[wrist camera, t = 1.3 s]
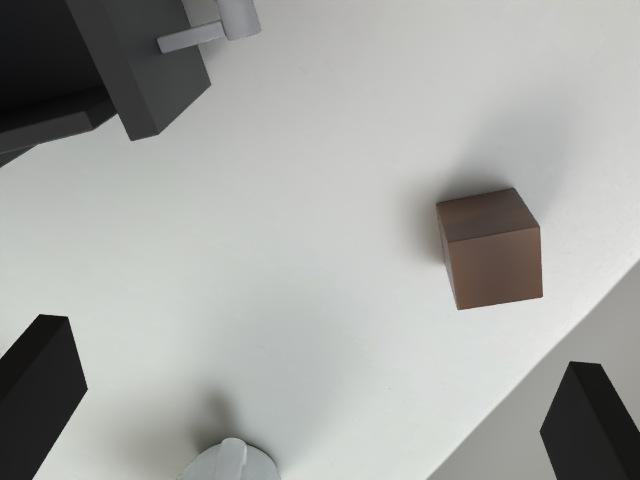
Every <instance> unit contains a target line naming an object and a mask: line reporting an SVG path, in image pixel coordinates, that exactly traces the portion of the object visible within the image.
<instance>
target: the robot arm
mask: <svg viewBox="0 0 640 480" xmlns="http://www.w3.org/2000/svg"><path fill="white" fill-rule="evenodd" d="M87 390H88V388H87V384H86V381H85V377H84V373H83V370H82V366H81V362H80V359H79V355H78V352H77V348H76V344H75V341H74V337H73V334H72V330H71V326H70V323H69V319H68V317H66V316H54V315H43V314H39V315H38V317H37V318H36V319H35V320H34V321H33V322H32V323H31V325H30V326H29V327H28V328H27V329H26V330H25V331H24V333H23V334H22V335H21V336H20V337H19V338H18V339H17V341H16V342H15V343H14V344H13V345H12V346H11V347H10V349H9V350H8V351H7V352H6V353H5V354H4V355H3V357H2V358H1V359H0V480H32V479H33V477H34V476H35V474H36V473H37V471H38V469H39V468H40V466H41V464H42V463H43V461H44V460H45V458H46V456H47V455H48V453H49V451H50V450H51V448H52V447H53V445H54V443H55V442H56V440H57V439H58V437H59V435H60V434H61V432H62V430H63V429H64V427H65V426H66V424H67V422H68V421H69V419H70V417H71V416H72V414H73V413H74V411H75V409H76V408H77V406H78V404H79V403H80V401H81V400H82V398H83V396H84V395H85V393H86V392H87ZM540 434H541V437H542V440H543V442H544V445H545V448H546V450H547V453H548V456H549V459H550V462H551V464H552V467H553V470H554V472H555V475H556V478H557V480H640V432H639V430H638V429H637V427H636V425H635V423H634V422H633V420H632V418H631V416H630V415H629V413H628V411H627V410H626V408H625V406H624V405H623V402H622V401H621V399H620V397H619V396H618V394H617V392H616V391H615V388H614V387H613V385H612V383H611V381H610V380H609V378H608V376H607V375H606V373H605V371H604V369H603V367H602V366H601V364H596V363H584V362H573V361H570V362H569V365H568V367H567V369H566V372H565V374H564V376H563V379H562V381H561V383H560V385H559V388H558V390H557V392H556V395H555V397H554V399H553V402H552V404H551V406H550V409H549V411H548V413H547V416H546V418H545V420H544V423H543V425H542V427H541V429H540Z"/></svg>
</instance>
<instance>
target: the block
mask: <svg viewBox="0 0 640 480" xmlns="http://www.w3.org/2000/svg"><path fill="white" fill-rule="evenodd" d="M436 210H437V216H438V222H439V229H440V235H441V242H442V248H443V254H444V261H445V266H446V270H447V274H448V277H449V281H450V284H451V288H452V292H453V295H454V299H455V303H456V306H457V309H458V310H463V309H470V308H476V307H483V306H489V305H496V304H502V303H509V302H515V301H522V300H528V299H535V298H541V297H543V289H542V265H541V240H540V226H539V224H538V223H537V221H536V220H535V218H534V217H533V215H532V214H531V212H530V211H529V209H528V207H527V206H526V204H525V203H524V201H523V200H522V198H521V197H520V195H519V194H518V192H517V191H516V189H515V188H513V189H508V190H503V191H497V192H492V193H487V194H482V195H477V196H472V197H467V198H462V199H456V200H451V201H446V202H441V203H437V204H436Z"/></svg>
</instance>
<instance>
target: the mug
mask: <svg viewBox="0 0 640 480" xmlns="http://www.w3.org/2000/svg"><path fill="white" fill-rule="evenodd" d="M177 480H281V477H280V475H279V472H278V470H277V468H276V466H275V464H274V463H273V461H272V460H271V459H270V458H269V457H268V456H267V455H266V454H265V453H264V452H262V451H260V450H259V449H257V448H254V447H252V446H249V445H246V444H245V442H244V441H242V440H240V439H237V438H226V439H224V440H223V441H222V443H221V444H218V445H215V446H213V447H210V448H208V449H207V450H205V451H204V452H202V453H201V454H200V455H199V456H197V457H196V458H195V459H194V460H193V461H192V462H191V463H190V464H189V465H188V466H187V467H186V468H185V470H184V471H183V473H181V474H180V475H179V477H178V478H177Z"/></svg>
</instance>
